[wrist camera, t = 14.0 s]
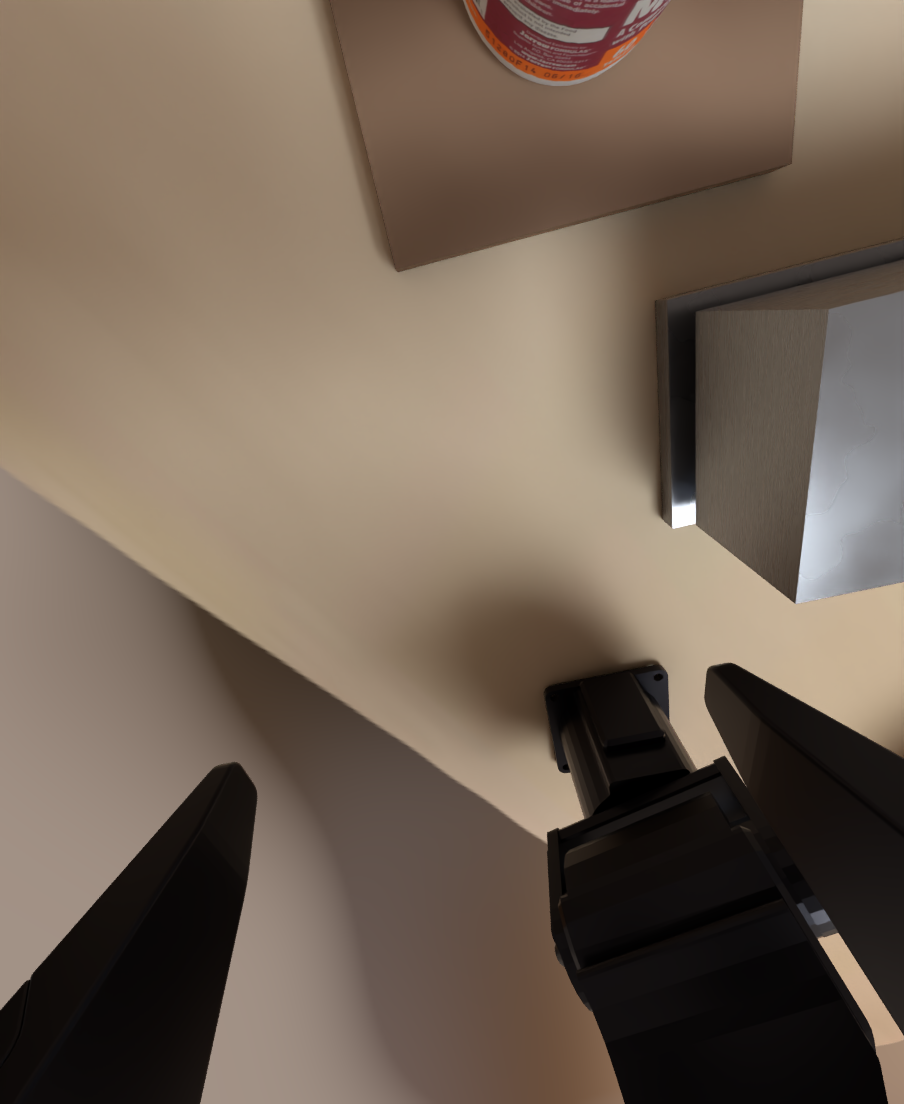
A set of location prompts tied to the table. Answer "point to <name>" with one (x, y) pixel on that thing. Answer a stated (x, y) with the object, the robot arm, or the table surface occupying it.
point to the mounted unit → (791, 420)
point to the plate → (560, 120)
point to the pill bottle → (562, 35)
